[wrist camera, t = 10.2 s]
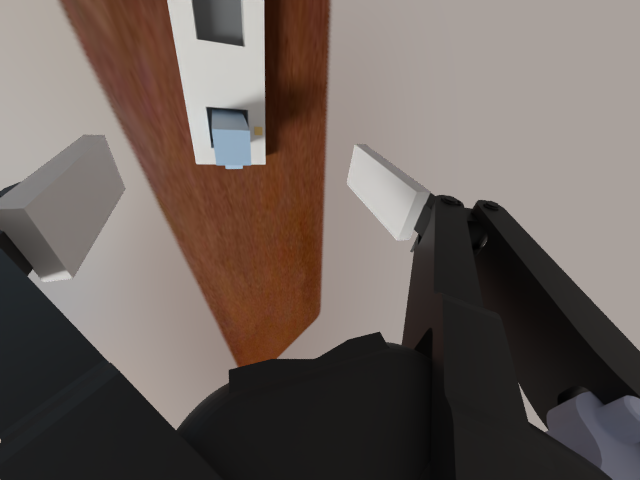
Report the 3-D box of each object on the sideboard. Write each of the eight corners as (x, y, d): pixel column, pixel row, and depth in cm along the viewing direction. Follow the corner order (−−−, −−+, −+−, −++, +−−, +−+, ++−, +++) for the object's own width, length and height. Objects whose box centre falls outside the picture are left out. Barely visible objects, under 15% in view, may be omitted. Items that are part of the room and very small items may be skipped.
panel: (160, -60, 23) (154, -72, 20) (259, -34, 26) (264, -42, 23) (197, 156, 34) (196, 164, 32) (262, 157, 37) (265, 164, 35)
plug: (212, 108, 31) (211, 128, 24) (241, 111, 32) (249, 130, 25) (216, 143, 34) (217, 171, 26) (243, 144, 35) (251, 171, 27)
